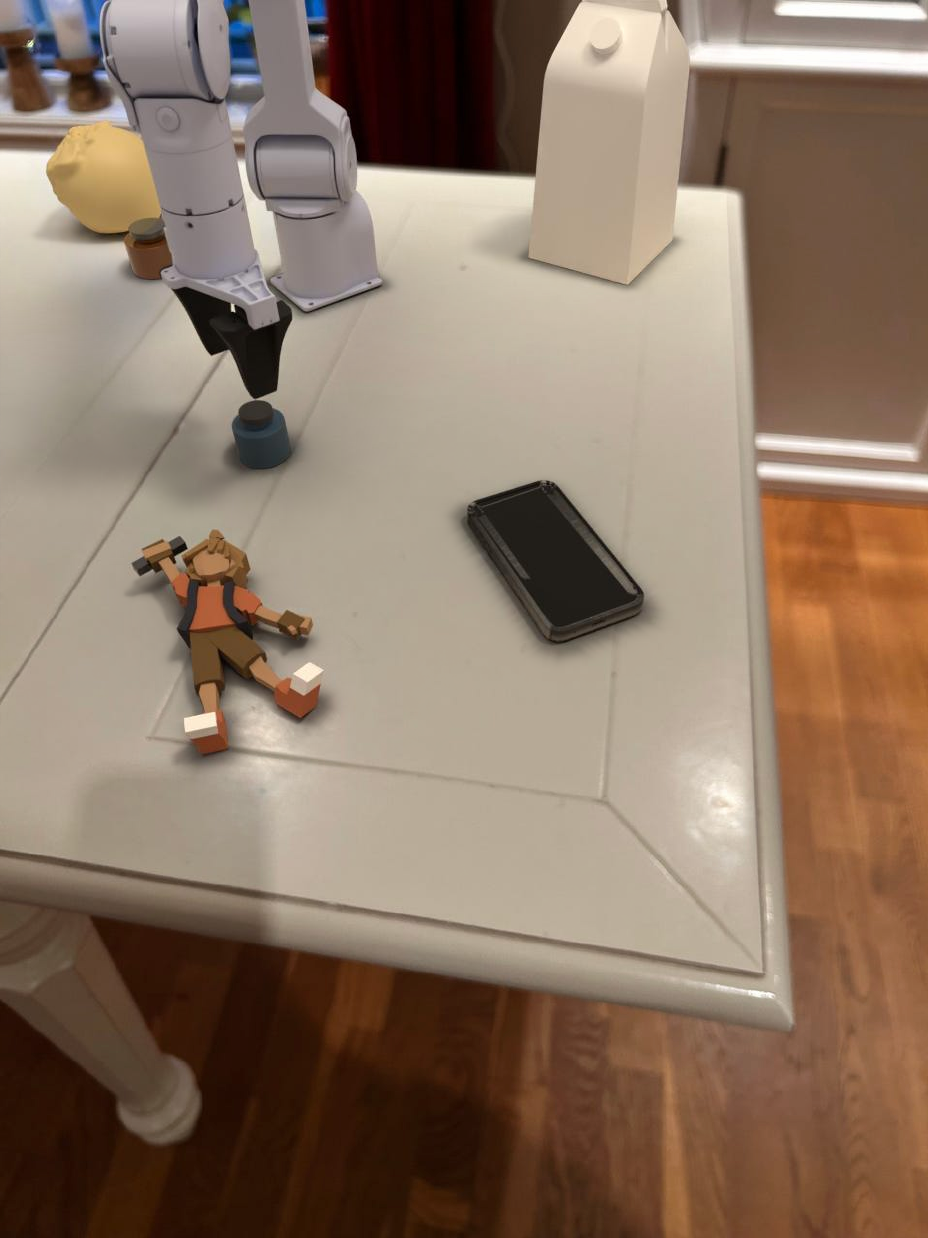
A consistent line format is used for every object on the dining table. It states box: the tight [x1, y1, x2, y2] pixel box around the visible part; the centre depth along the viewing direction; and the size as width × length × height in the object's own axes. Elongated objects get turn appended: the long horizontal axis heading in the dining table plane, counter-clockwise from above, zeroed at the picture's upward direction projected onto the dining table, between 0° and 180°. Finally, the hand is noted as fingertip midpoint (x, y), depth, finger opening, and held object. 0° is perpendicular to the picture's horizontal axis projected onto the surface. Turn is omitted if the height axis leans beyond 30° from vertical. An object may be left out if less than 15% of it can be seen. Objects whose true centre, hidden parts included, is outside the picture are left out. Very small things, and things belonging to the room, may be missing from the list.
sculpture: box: [45, 119, 162, 234], centre depth 105 cm, size 11×12×11 cm
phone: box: [466, 479, 645, 643], centre depth 68 cm, size 8×1×15 cm
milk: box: [527, 0, 691, 286], centre depth 92 cm, size 12×12×26 cm
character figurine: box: [130, 529, 324, 755], centre depth 63 cm, size 12×5×18 cm
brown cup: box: [123, 217, 173, 280], centre depth 99 cm, size 6×6×5 cm
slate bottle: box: [231, 399, 292, 470], centre depth 77 cm, size 4×4×4 cm
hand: (241, 371), depth 73 cm, fingers open, 7 cm apart
